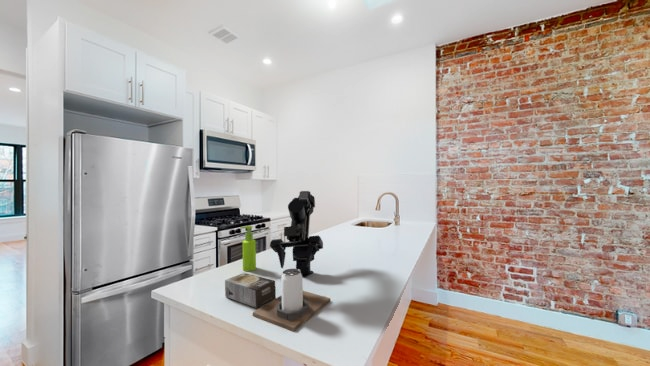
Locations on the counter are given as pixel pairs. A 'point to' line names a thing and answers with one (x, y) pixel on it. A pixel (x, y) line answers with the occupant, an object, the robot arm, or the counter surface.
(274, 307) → the carrier board
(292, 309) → the can
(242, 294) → the coffee box
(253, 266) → the soap dispenser
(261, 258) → the counter surface
